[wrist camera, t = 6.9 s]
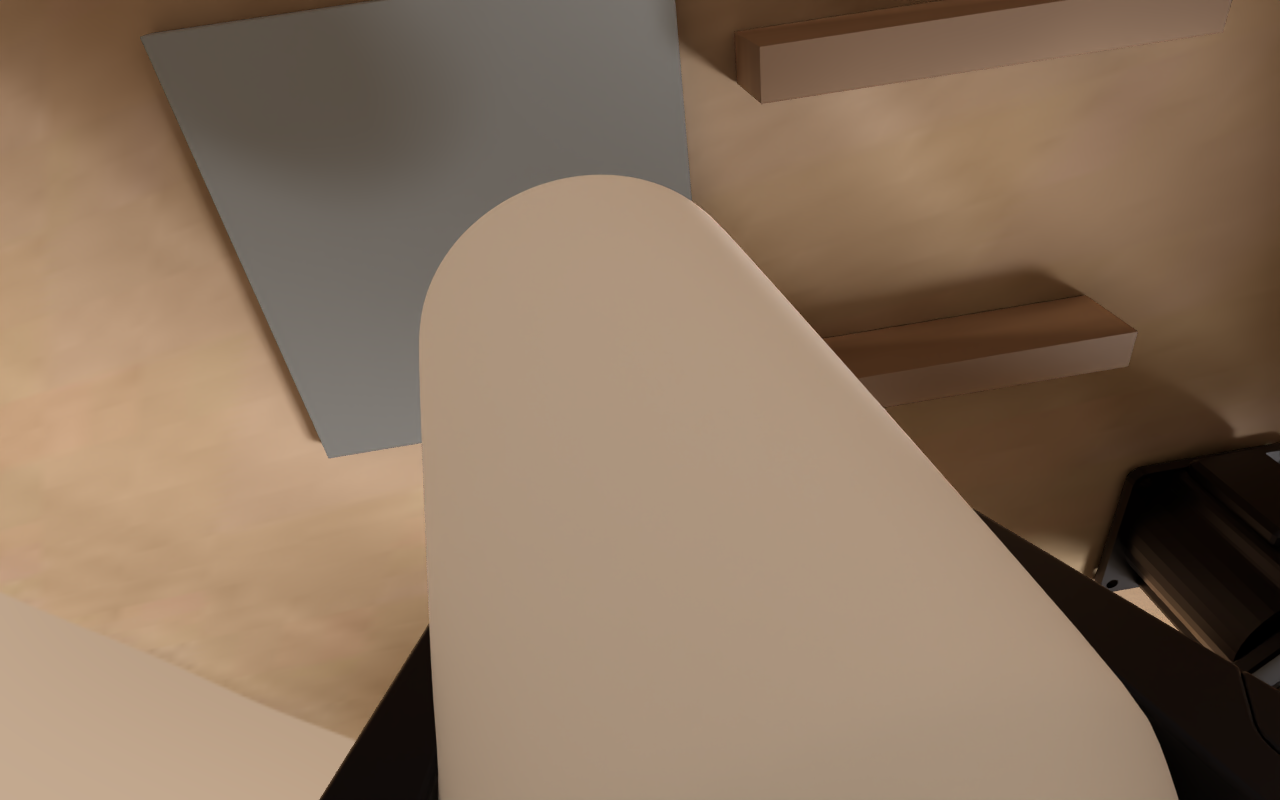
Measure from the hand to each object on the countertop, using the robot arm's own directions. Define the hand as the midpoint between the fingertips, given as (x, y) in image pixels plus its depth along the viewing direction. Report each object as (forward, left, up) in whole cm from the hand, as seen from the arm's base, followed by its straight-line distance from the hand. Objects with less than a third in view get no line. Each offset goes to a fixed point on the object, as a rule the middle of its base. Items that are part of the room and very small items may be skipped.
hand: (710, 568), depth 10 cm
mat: (0, +4, -13) cm, 14 cm away
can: (0, +1, -7) cm, 7 cm away
